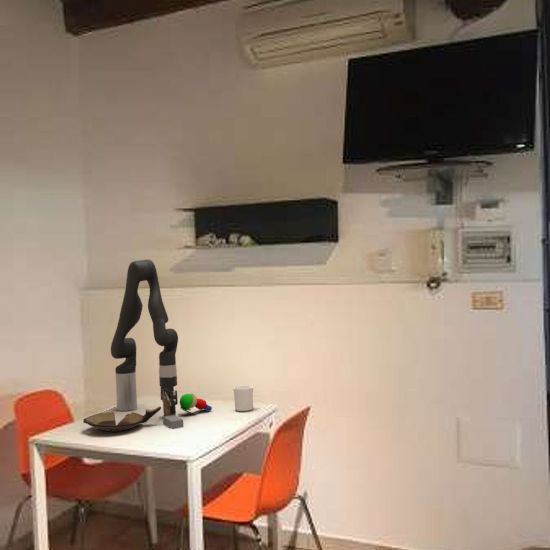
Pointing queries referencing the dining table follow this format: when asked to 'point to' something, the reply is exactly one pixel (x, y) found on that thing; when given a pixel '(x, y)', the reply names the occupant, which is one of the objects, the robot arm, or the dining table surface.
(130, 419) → the oil lamp
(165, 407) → the block
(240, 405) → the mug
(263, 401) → the dining table surface
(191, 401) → the toy
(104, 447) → the dining table surface
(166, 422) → the hammer head
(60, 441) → the dining table surface
